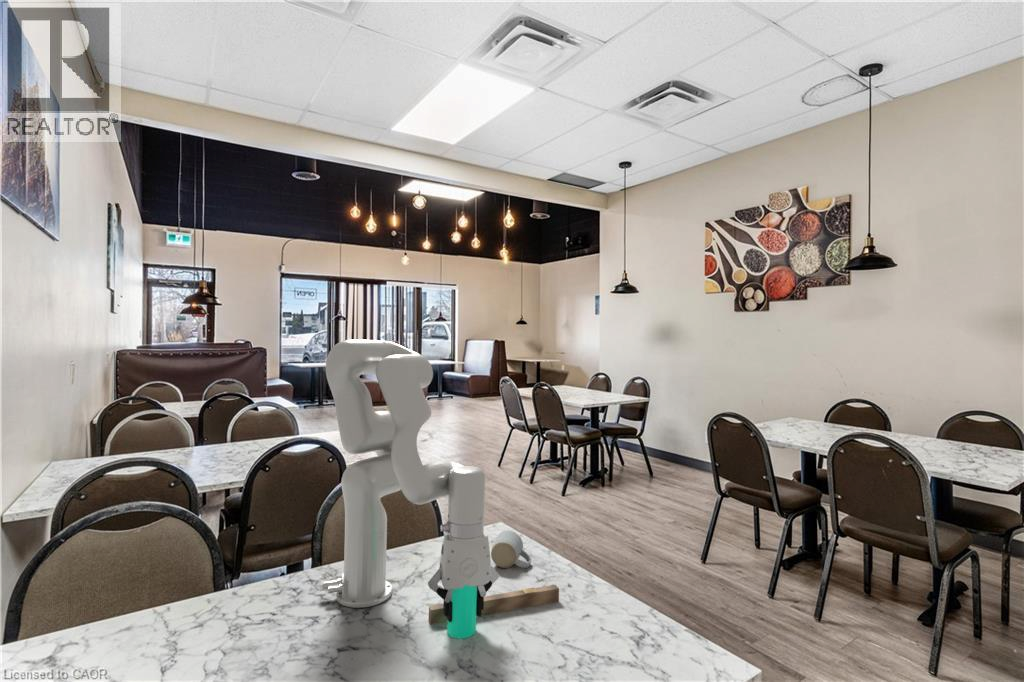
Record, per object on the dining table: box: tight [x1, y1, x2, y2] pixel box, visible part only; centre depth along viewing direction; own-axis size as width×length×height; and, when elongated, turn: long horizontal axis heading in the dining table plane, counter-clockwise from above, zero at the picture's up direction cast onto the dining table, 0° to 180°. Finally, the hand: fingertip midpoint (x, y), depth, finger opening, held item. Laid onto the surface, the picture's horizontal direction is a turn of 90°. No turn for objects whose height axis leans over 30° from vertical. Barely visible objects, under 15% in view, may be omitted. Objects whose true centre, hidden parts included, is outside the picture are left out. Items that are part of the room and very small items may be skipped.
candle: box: [446, 585, 477, 639], centre depth 103 cm, size 6×6×12 cm
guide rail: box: [428, 584, 560, 625], centre depth 111 cm, size 30×2×3 cm, turn 111°
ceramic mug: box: [490, 530, 532, 569], centre depth 135 cm, size 11×8×8 cm
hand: (463, 615), depth 103 cm, fingers closed on candle, 5 cm apart
